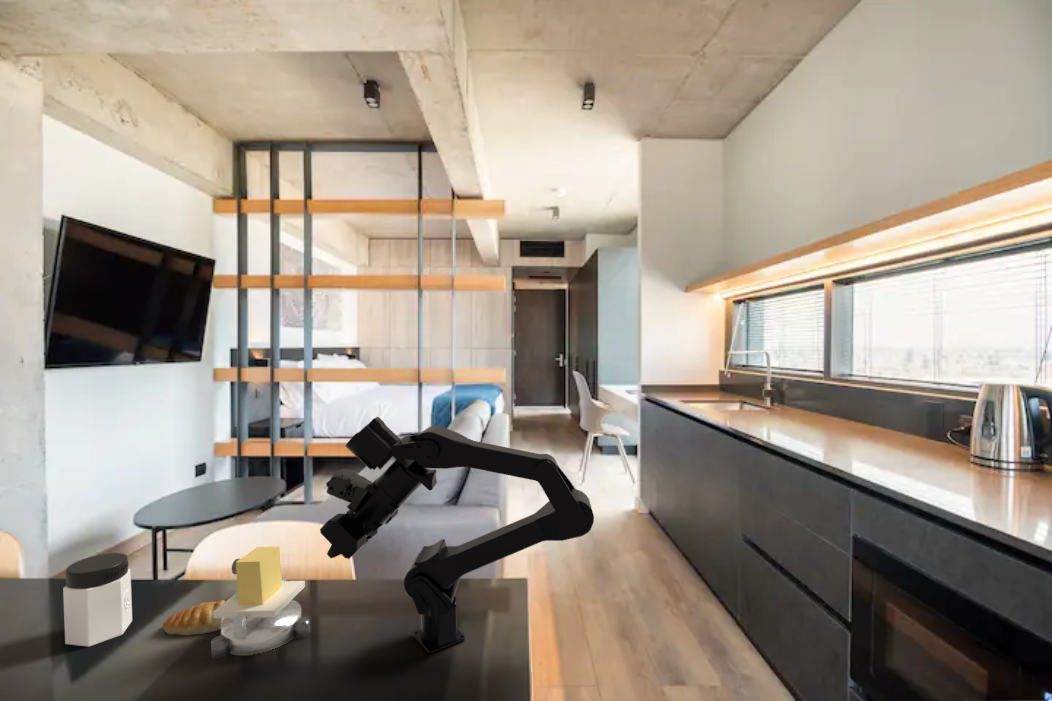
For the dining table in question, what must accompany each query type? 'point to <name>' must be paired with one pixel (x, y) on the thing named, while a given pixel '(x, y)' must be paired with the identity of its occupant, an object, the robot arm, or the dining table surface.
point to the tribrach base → (260, 632)
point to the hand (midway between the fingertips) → (329, 555)
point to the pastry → (194, 620)
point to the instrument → (259, 586)
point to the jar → (97, 599)
